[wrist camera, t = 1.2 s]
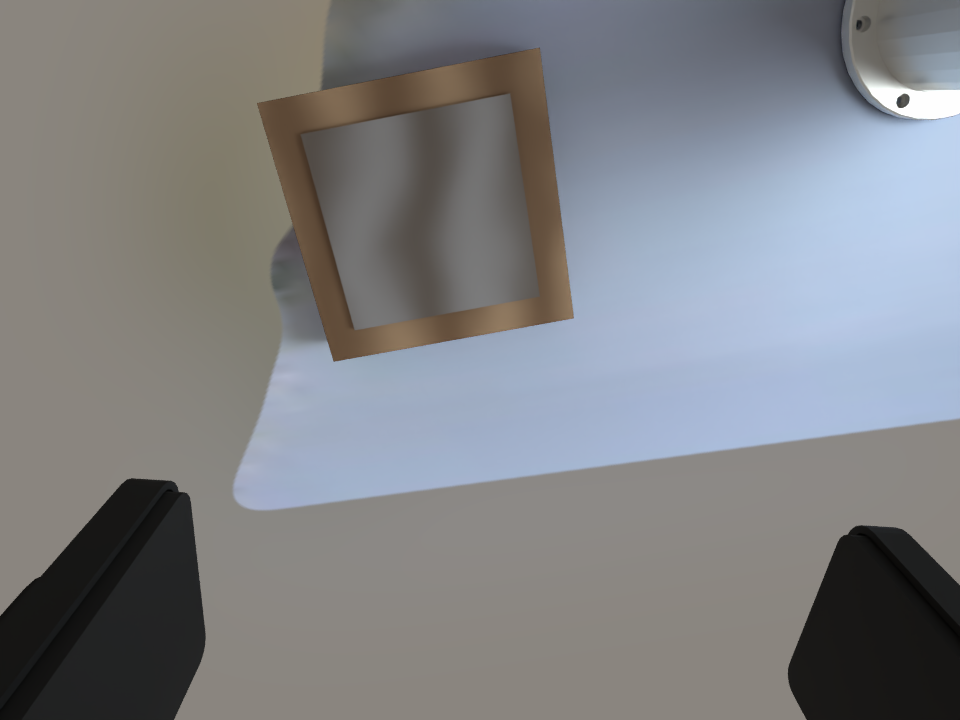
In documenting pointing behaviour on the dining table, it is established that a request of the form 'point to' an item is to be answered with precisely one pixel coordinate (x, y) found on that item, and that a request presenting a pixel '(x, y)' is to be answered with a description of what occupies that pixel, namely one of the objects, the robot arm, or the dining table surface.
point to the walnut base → (425, 203)
